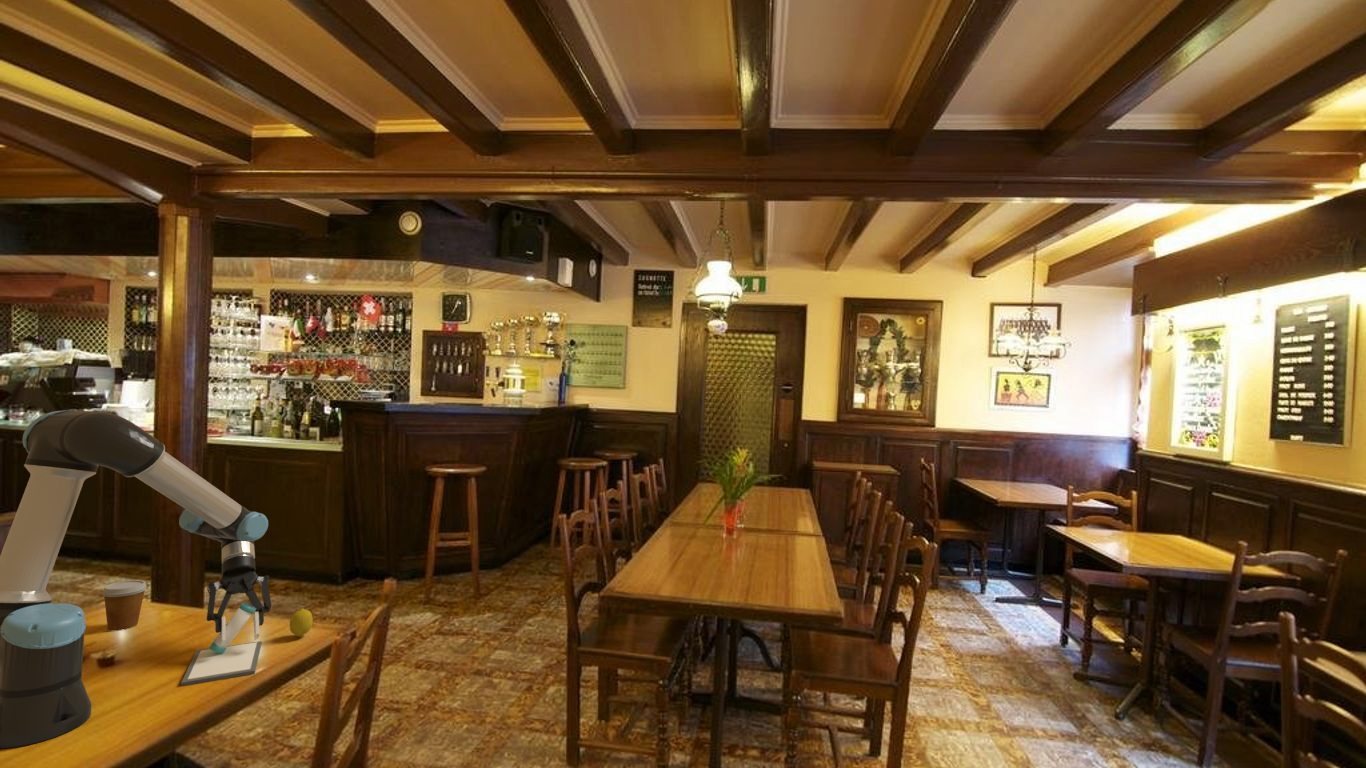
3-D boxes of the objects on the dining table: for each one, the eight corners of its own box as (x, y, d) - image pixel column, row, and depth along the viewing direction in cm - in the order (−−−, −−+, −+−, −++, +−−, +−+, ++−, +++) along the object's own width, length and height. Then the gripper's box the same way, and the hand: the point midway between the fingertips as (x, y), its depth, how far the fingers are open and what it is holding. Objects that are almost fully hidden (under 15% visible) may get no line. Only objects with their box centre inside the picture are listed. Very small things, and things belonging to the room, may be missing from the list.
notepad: (181, 686, 140) (181, 681, 140) (196, 653, 157) (196, 649, 157) (254, 673, 147) (254, 669, 147) (261, 644, 165) (261, 640, 165)
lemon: (314, 637, 170) (316, 608, 170) (292, 642, 166) (293, 613, 166) (308, 631, 174) (310, 603, 174) (286, 636, 170) (287, 608, 170)
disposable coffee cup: (150, 625, 175) (152, 583, 175) (105, 635, 167) (108, 592, 167) (138, 618, 180) (140, 577, 180) (94, 627, 172) (97, 585, 172)
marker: (208, 649, 153) (242, 604, 158) (208, 644, 156) (242, 601, 161) (223, 655, 155) (257, 610, 159) (223, 650, 158) (256, 606, 162)
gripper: (277, 564, 176) (282, 638, 163) (192, 574, 164) (190, 655, 151) (281, 550, 173) (287, 624, 160) (195, 558, 160) (193, 640, 147)
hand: (240, 639), depth 155 cm, fingers closed on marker, 6 cm apart
